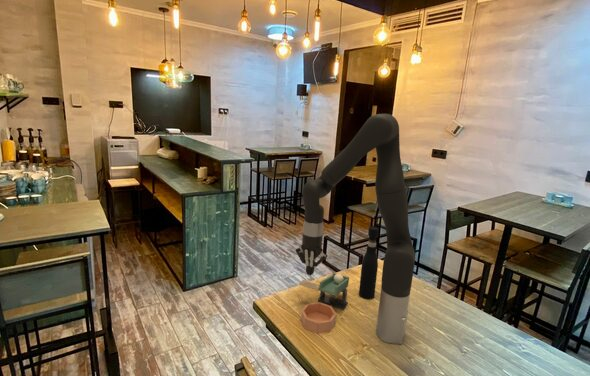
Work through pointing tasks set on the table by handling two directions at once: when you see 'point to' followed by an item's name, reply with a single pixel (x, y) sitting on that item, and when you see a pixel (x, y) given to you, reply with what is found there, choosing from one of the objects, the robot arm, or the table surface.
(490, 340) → the table surface
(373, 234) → the wine bottle
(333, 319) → the pink octagonal bowl
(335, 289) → the chute
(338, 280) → the ball
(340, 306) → the chute stand
